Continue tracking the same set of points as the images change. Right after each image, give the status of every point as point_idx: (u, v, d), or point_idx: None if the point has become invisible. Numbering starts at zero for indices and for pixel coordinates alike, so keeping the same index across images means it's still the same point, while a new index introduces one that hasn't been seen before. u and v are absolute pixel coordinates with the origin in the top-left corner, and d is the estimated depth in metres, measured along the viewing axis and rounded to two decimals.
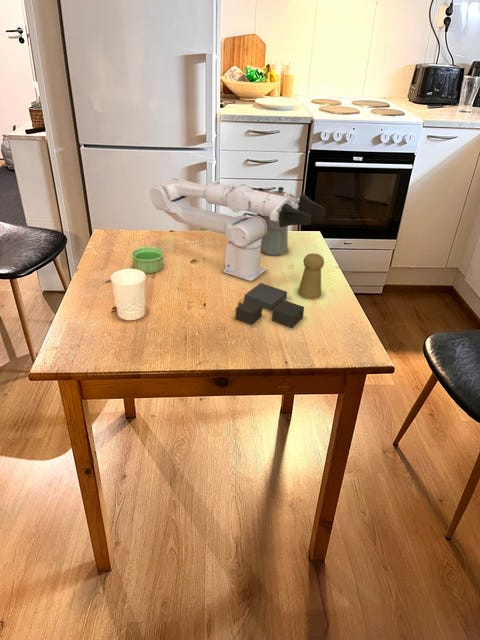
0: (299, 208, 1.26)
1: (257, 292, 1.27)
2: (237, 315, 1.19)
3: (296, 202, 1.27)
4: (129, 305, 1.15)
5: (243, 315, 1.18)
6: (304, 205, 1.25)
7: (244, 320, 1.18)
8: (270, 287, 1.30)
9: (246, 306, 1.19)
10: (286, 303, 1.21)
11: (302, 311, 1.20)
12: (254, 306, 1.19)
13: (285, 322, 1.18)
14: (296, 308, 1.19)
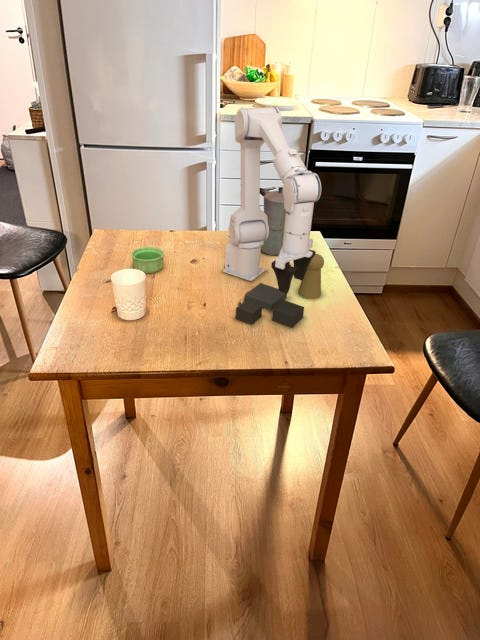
0: None
1: (257, 292, 1.27)
2: (237, 315, 1.19)
3: None
4: (129, 305, 1.15)
5: (243, 315, 1.18)
6: (303, 258, 1.15)
7: (244, 320, 1.18)
8: (270, 287, 1.30)
9: (246, 306, 1.19)
10: (286, 303, 1.21)
11: (302, 311, 1.20)
12: (254, 306, 1.19)
13: (285, 322, 1.18)
14: (296, 308, 1.19)
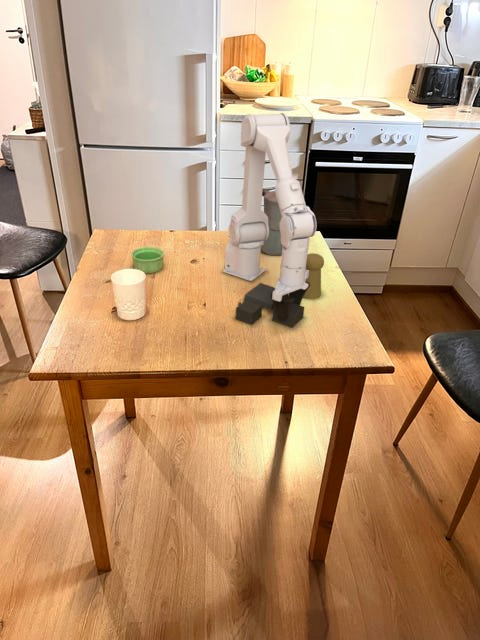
0: None
1: (257, 292, 1.27)
2: (237, 315, 1.19)
3: None
4: (129, 305, 1.15)
5: (243, 315, 1.18)
6: (298, 290, 1.19)
7: (244, 320, 1.18)
8: (270, 287, 1.30)
9: (246, 306, 1.19)
10: None
11: (302, 311, 1.20)
12: (254, 306, 1.19)
13: (285, 322, 1.18)
14: (296, 308, 1.19)
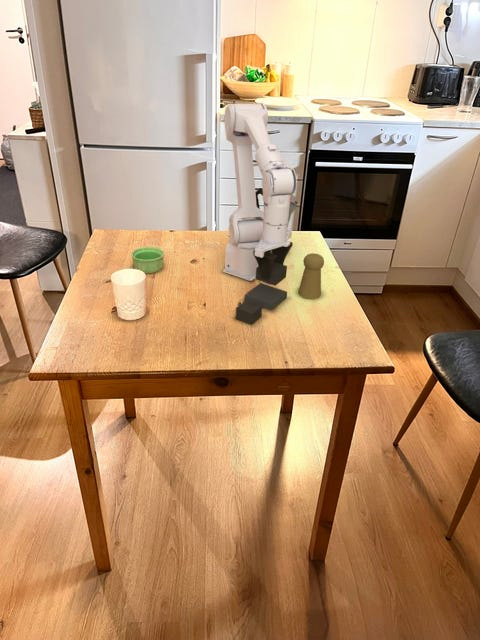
0: None
1: (257, 292, 1.27)
2: (237, 315, 1.19)
3: None
4: (129, 305, 1.15)
5: (243, 315, 1.18)
6: (281, 249, 1.21)
7: (244, 320, 1.18)
8: (270, 287, 1.30)
9: (246, 306, 1.19)
10: None
11: (285, 270, 1.22)
12: (254, 306, 1.19)
13: (268, 280, 1.20)
14: (279, 267, 1.22)
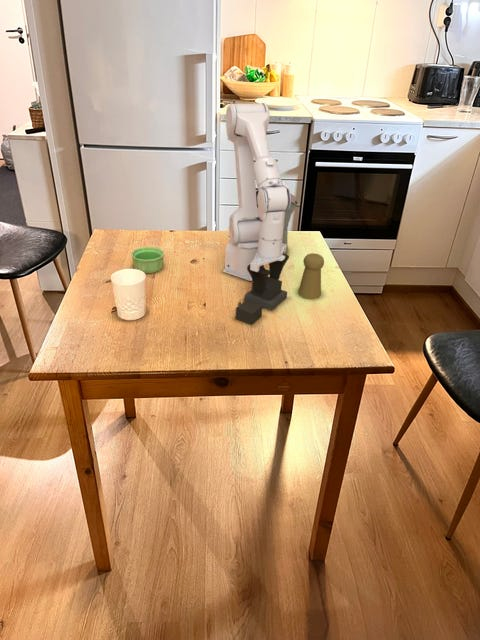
0: None
1: None
2: (237, 315, 1.19)
3: None
4: (129, 305, 1.15)
5: (243, 315, 1.18)
6: (277, 261, 1.25)
7: (244, 320, 1.18)
8: None
9: (246, 306, 1.19)
10: None
11: (280, 285, 1.26)
12: (254, 306, 1.19)
13: (263, 295, 1.24)
14: (274, 282, 1.25)
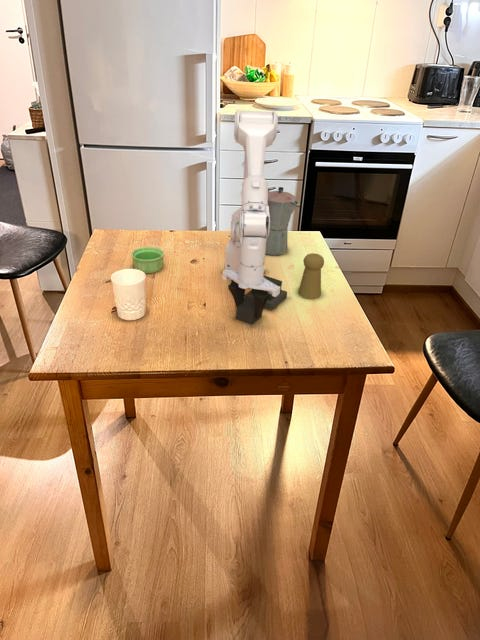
0: None
1: None
2: (237, 315, 1.19)
3: None
4: (129, 305, 1.15)
5: (243, 315, 1.18)
6: None
7: (244, 320, 1.18)
8: None
9: (246, 306, 1.19)
10: (265, 277, 1.27)
11: (280, 285, 1.26)
12: (254, 306, 1.19)
13: None
14: (274, 282, 1.25)
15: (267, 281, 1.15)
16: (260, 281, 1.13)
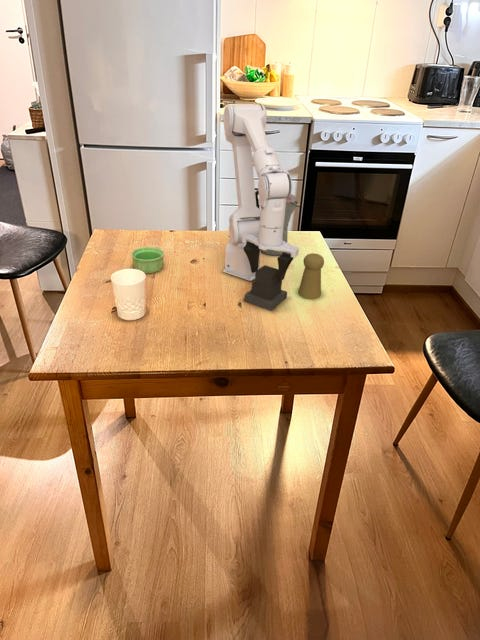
0: None
1: None
2: (256, 279, 1.24)
3: None
4: (129, 305, 1.15)
5: (262, 278, 1.23)
6: None
7: (263, 284, 1.23)
8: None
9: (265, 270, 1.24)
10: None
11: (280, 285, 1.26)
12: (273, 270, 1.24)
13: (263, 295, 1.24)
14: None
15: (286, 243, 1.19)
16: (279, 243, 1.18)
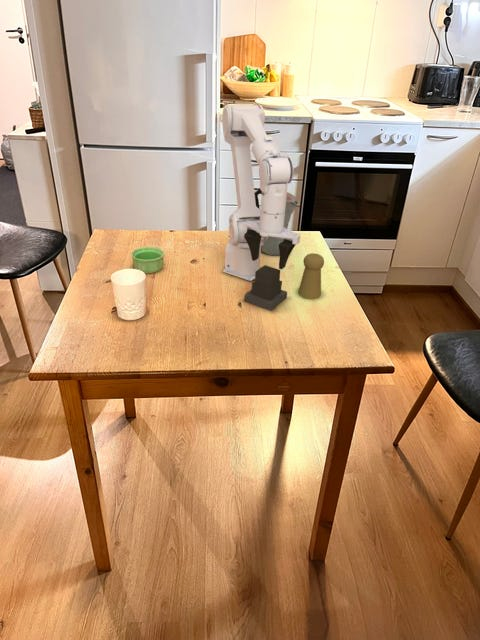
0: None
1: None
2: (256, 279, 1.24)
3: None
4: (129, 305, 1.15)
5: (262, 278, 1.23)
6: None
7: (263, 284, 1.23)
8: None
9: (265, 270, 1.24)
10: None
11: (280, 285, 1.26)
12: (273, 270, 1.24)
13: (263, 295, 1.24)
14: None
15: (287, 230, 1.17)
16: (281, 229, 1.16)
